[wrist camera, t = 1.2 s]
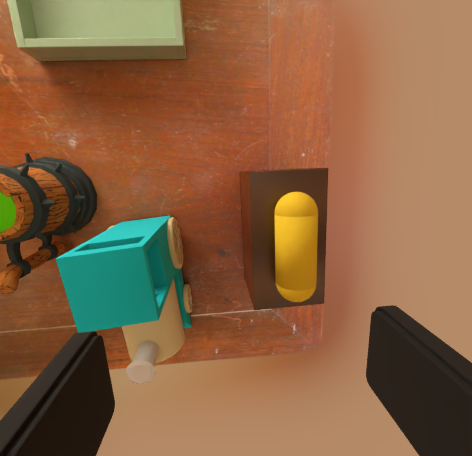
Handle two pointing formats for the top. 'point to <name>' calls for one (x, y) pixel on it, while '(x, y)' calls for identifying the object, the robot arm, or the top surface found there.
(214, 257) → the top surface
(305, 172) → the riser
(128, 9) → the tray
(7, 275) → the mug
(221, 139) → the top surface
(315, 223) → the yellow capsule toy
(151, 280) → the toy train
